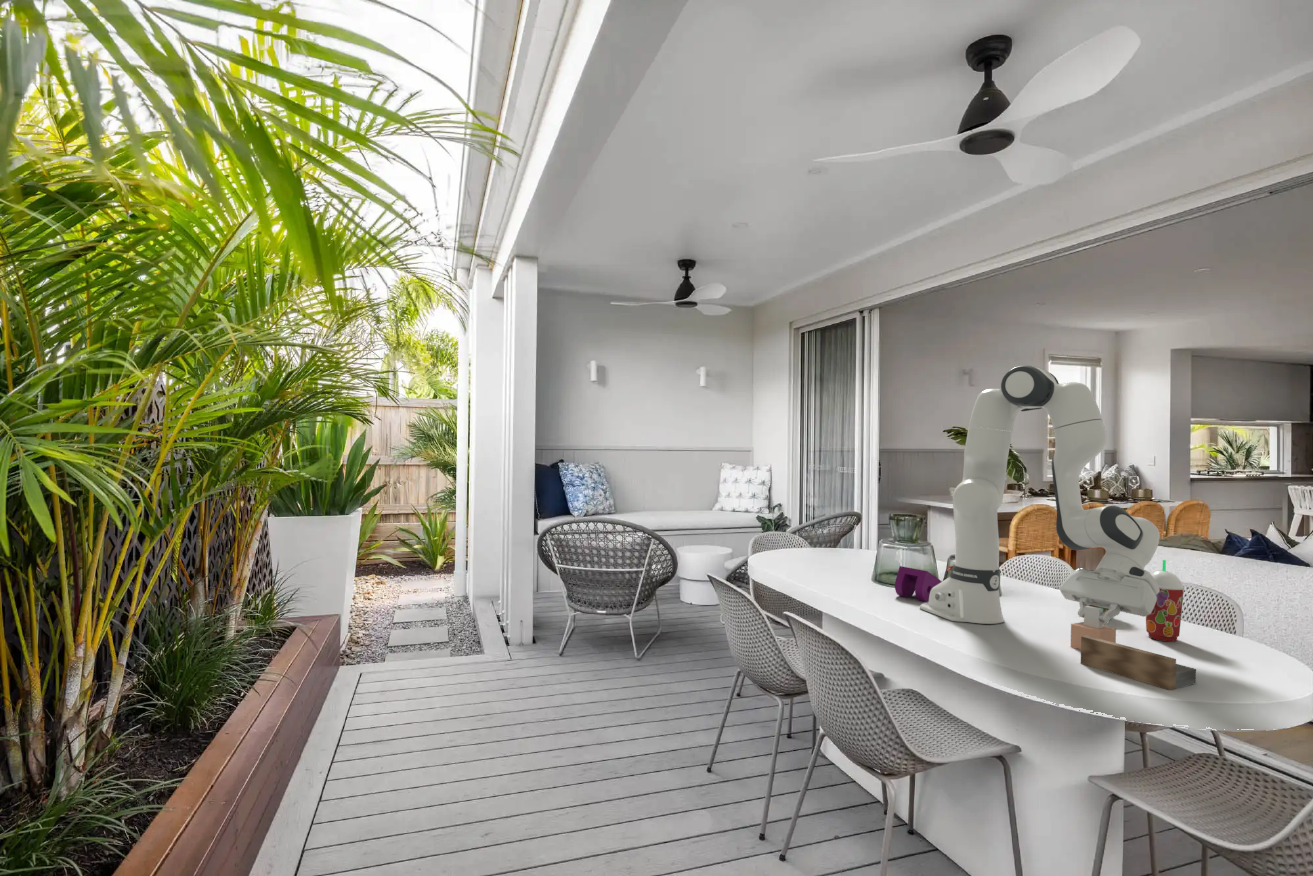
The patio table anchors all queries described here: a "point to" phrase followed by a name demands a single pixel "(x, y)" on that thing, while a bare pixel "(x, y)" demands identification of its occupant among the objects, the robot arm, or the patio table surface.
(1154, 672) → the wall board
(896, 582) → the mounting bracket
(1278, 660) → the patio table surface
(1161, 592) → the smoothie
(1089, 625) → the peach box
